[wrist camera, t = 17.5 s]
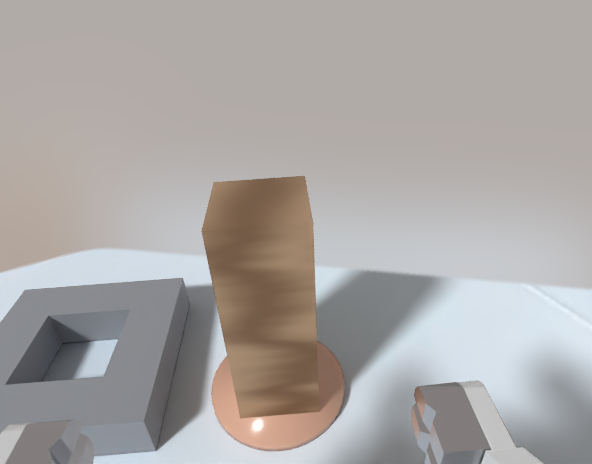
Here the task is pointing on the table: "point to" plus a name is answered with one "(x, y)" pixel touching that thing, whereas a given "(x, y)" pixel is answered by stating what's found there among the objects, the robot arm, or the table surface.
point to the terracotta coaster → (280, 428)
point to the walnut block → (265, 292)
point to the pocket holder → (120, 371)
